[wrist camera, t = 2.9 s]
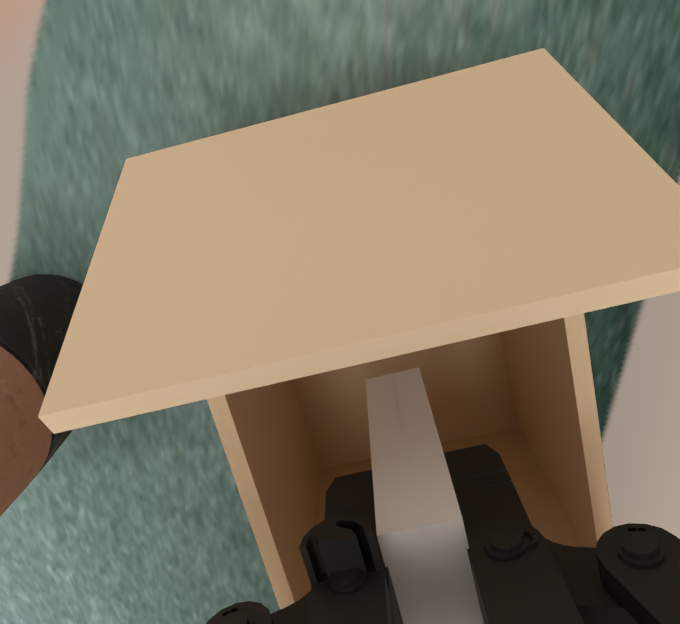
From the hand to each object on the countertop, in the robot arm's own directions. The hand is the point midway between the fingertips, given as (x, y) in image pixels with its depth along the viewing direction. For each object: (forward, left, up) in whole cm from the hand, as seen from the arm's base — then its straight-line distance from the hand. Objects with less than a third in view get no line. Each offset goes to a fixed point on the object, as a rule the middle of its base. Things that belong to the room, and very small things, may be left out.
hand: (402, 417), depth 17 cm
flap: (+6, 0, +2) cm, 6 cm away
